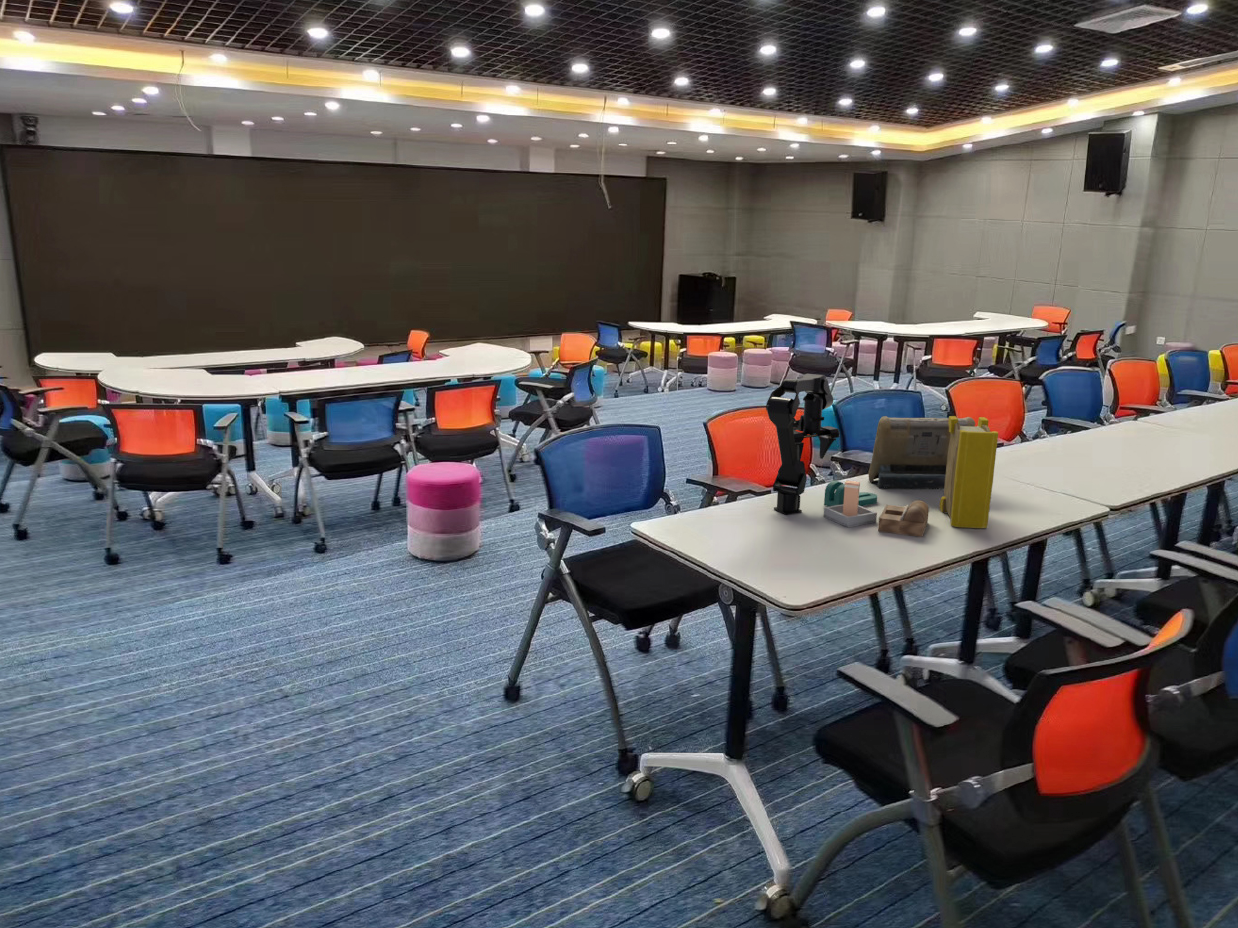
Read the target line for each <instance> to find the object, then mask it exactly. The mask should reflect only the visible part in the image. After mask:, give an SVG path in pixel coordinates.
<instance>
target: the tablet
mask: <svg viewBox="0 0 1238 928" xmlns="http://www.w3.org/2000/svg"><path fill="white" fill-rule="evenodd" d="M957 419H958V423H960V426H971V427H974V426H976V421H975V419H974V418H972V417H971V416H967V417H962V418H958V417H957ZM948 422H949V417H948V418H945V417H944V418H942V417H941V418H940V417H939V418H938V417H888V416H887V415H885V416H881V418H880V419H879V421H878V424H877V427H876V429H877V430H876V433H875V434H876V435H875V439H874V444H873V445H874V446H873V450H872V457H871V461H870V465H869V469H868V481H869V483H873V482H874V480H877V479H878V481H877V485H876V486H877V488H878V489H893V490H944V487H945V476H946V466H947V457H948V449H949V442H950V436H951V433H950V432H949V424H948Z"/></svg>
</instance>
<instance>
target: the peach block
mask: <svg viewBox="0 0 1238 928" xmlns="http://www.w3.org/2000/svg"><path fill="white" fill-rule="evenodd" d="M844 484H845V490H844V503H843V514H844V515H846V516H848V517H849V516H855V515H858V502H859V493H860V487H861V482H860V481H854V480H853V481H852V480H846V481H845V482H844Z"/></svg>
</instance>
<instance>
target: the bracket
mask: <svg viewBox="0 0 1238 928" xmlns="http://www.w3.org/2000/svg"><path fill="white" fill-rule="evenodd" d="M844 490H845V483H843V482H841V481H839V480H836V479H835V480H832V481H829V483H828V484H827V485H826V486H825V489H824V501H823V505H824V506H825V507H830V506H836V505H842V504H843V503H844ZM877 503H878V495H877V494H875V493H873V492H866V491H863V492H861V491H859V502H858V505H859V506H862V507H865V506H869V505H870V506H871V505H875V504H877Z"/></svg>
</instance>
